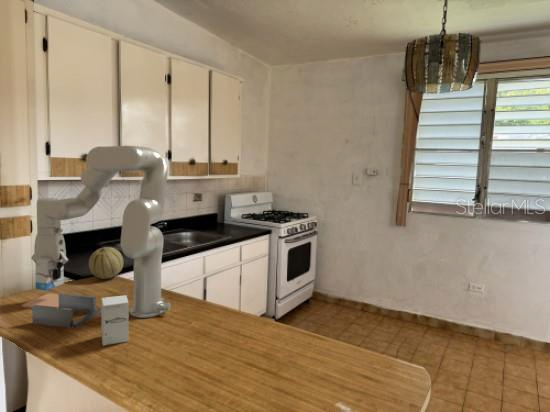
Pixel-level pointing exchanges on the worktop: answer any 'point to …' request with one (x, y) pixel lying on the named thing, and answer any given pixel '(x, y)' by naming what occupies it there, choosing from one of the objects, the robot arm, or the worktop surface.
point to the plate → (44, 301)
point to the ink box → (46, 274)
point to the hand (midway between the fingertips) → (50, 277)
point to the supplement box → (114, 319)
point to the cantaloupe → (106, 262)
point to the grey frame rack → (66, 311)
